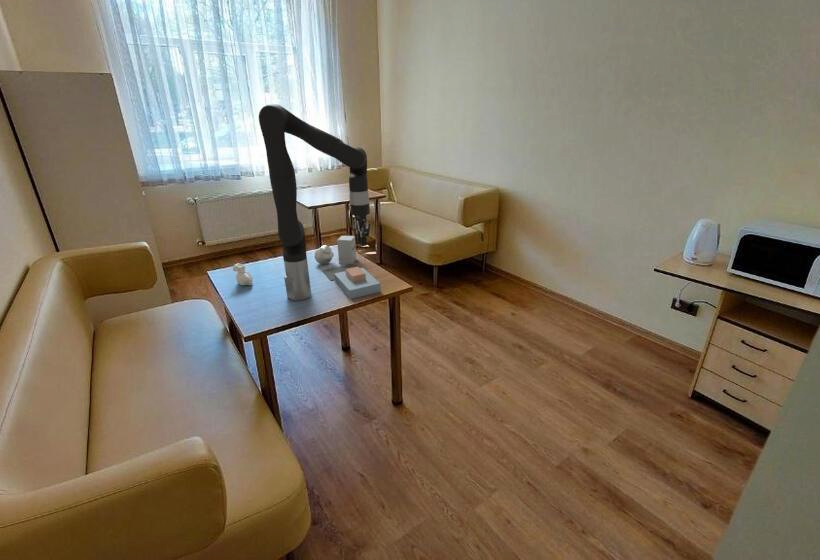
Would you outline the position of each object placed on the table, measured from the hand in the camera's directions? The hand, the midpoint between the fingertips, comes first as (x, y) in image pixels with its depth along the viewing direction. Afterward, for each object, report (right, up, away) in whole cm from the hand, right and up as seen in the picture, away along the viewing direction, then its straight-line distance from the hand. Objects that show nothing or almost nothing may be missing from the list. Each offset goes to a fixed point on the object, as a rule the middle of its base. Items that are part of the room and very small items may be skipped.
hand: (362, 244), depth 166 cm
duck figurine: (-56, -16, +22) cm, 63 cm away
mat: (-13, -11, +33) cm, 37 cm away
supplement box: (-13, -5, +45) cm, 47 cm away
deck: (-4, -17, +18) cm, 25 cm away
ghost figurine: (-24, -7, +42) cm, 49 cm away
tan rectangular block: (-5, -13, +17) cm, 22 cm away
